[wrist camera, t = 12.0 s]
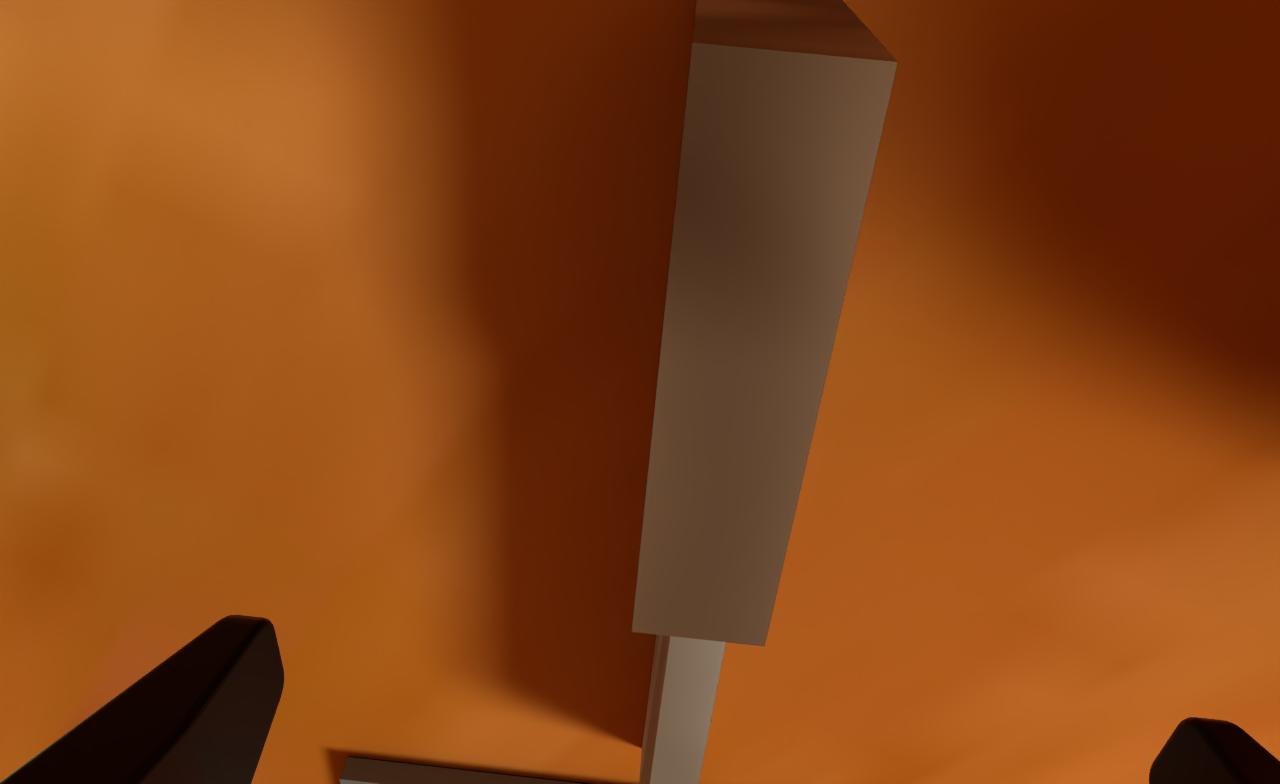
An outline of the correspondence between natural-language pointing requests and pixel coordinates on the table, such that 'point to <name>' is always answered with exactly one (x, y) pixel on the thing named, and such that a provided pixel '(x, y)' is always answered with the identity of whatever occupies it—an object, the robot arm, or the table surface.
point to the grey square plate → (423, 774)
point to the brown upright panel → (747, 333)
